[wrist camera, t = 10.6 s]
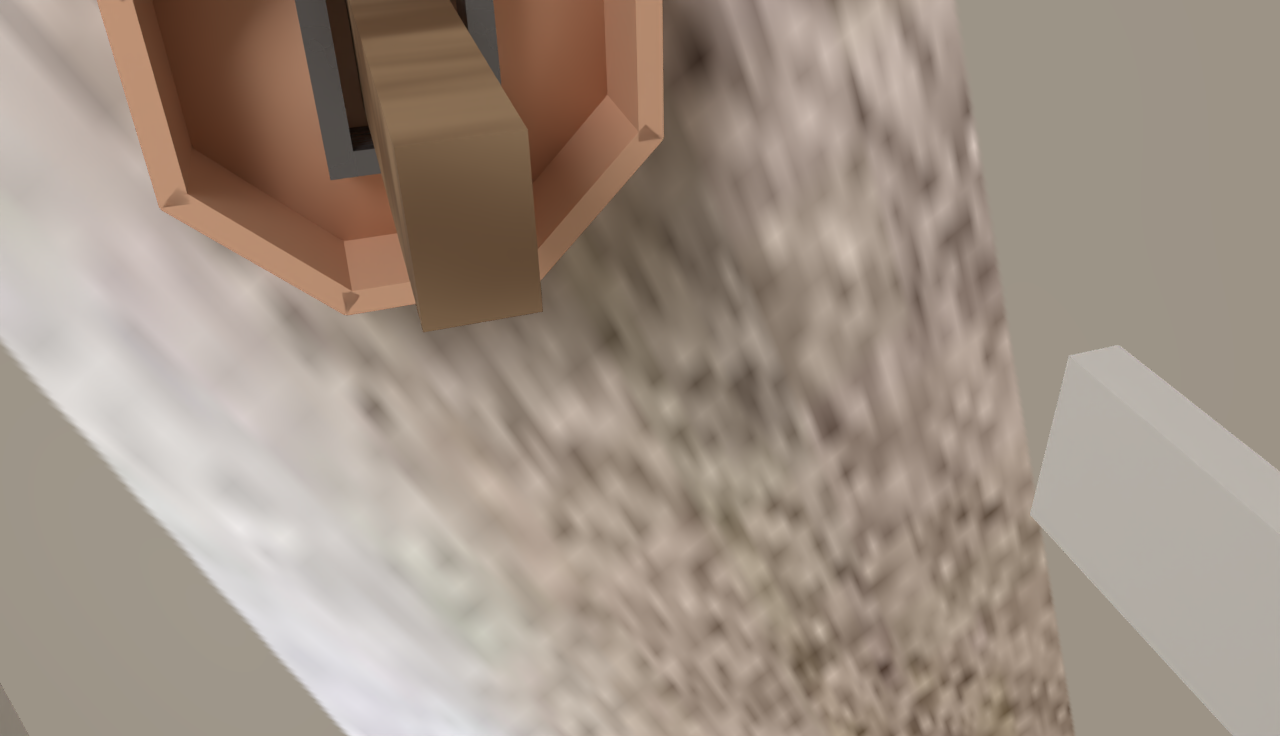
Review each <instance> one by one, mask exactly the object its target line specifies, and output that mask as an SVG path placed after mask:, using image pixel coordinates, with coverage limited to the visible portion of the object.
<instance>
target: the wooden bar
mask: <svg viewBox="0 0 1280 736" xmlns="http://www.w3.org/2000/svg"><path fill="white" fill-rule="evenodd" d="M345 2H346V8H347V14H348V20H349V26H350V31H351V37H352V43H353V49H354V55H355V61H356V66H357V72H358V78H359V84H360V90H361V96H362V101H363V107H364V110H365V114H366V118H367V122H368V125H369V129H370V133H371V137H372V141H373V144H374V148H375V152H376V156H377V159H378V163H379V167H380V171H381V174H382V178H383V182H384V186H385V190H386V193H387V197H388V201H389V205H390V208H391V212H392V216H393V220H394V223H395V227H396V231H397V235H398V239H399V242H400V246H401V250H402V254H403V257H404V261H405V265H406V269H407V272H408V276H409V280H410V284H411V288H412V291H413V295H414V299H415V303H416V306H417V310H418V314H419V318H420V321H421V325H422V329H423V332H428V331H434V330H439V329H445V328H451V327H457V326H463V325H468V324H474V323H480V322H486V321H492V320H497V319H503V318H509V317H515V316H521V315H526V314H532V313H538V312H543V307H542V295H541V283H540V271H539V259H538V247H537V235H536V223H535V211H534V199H533V187H532V175H531V163H530V151H529V139H528V129H527V128H526V126H525V124H524V123H523V121H522V119H521V118H520V116H519V114H518V113H517V111H516V109H515V108H514V106H513V104H512V103H511V101H510V99H509V98H508V96H507V95H506V93H505V91H504V90H503V88H502V86H501V85H500V83H499V81H498V80H497V78H496V76H495V75H494V73H493V71H492V70H491V68H490V66H489V65H488V63H487V61H486V60H485V58H484V56H483V55H482V53H481V52H480V50H479V48H478V47H477V45H476V43H475V42H474V40H473V38H472V37H471V35H470V33H469V32H468V30H467V28H466V27H465V25H464V23H463V22H462V20H461V18H460V17H459V15H458V13H457V12H456V10H455V9H454V7H453V5H452V4H451V2H450V0H345Z"/></svg>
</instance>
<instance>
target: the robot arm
mask: <svg viewBox="0 0 1280 736" xmlns="http://www.w3.org/2000/svg"><path fill="white" fill-rule="evenodd" d="M1030 515H1031V516H1032V517H1033V518H1034V519H1035V520H1036V522H1037V523H1038V524H1039V525H1040V526H1041V527H1042V528H1043V529H1044V530H1045V531H1046V532H1047V534H1048V535H1049V536H1050V537H1051V538H1052V539H1053V540H1054V541H1055V542H1056V543H1057V544H1058V546H1059V547H1060V548H1061V549H1062V550H1063V551H1064V552H1065V553H1066V554H1067V555H1068V556H1069V557H1070V559H1071V560H1072V561H1073V562H1074V563H1075V564H1076V565H1077V566H1078V567H1079V569H1080V570H1081V571H1082V572H1083V573H1084V574H1085V575H1086V576H1087V577H1088V578H1089V579H1090V580H1091V582H1092V583H1093V584H1094V585H1095V586H1096V587H1097V588H1098V589H1099V590H1100V591H1101V593H1102V594H1103V595H1104V596H1105V597H1106V598H1107V599H1108V600H1109V601H1110V602H1111V603H1112V604H1113V606H1114V607H1115V608H1116V609H1117V610H1118V611H1119V612H1120V613H1121V614H1122V615H1123V617H1124V618H1125V619H1126V620H1127V621H1128V622H1129V623H1130V624H1131V625H1132V626H1133V627H1134V629H1135V630H1136V631H1137V632H1138V633H1139V634H1140V635H1141V636H1142V637H1143V638H1144V640H1146V642H1147V643H1148V644H1149V645H1150V646H1151V647H1152V648H1153V649H1154V650H1155V652H1156V653H1157V654H1158V655H1159V656H1160V657H1161V658H1162V659H1163V660H1164V661H1165V662H1166V663H1167V664H1168V666H1169V667H1170V668H1171V669H1172V670H1173V671H1174V672H1175V673H1176V674H1177V676H1178V677H1179V678H1180V679H1181V680H1182V681H1183V682H1184V683H1185V684H1186V685H1187V686H1188V688H1190V690H1191V691H1192V692H1193V693H1194V694H1195V695H1196V696H1197V697H1198V698H1199V700H1200V701H1201V702H1202V703H1203V704H1204V705H1205V706H1206V707H1207V708H1208V709H1209V710H1210V712H1212V714H1213V715H1214V716H1215V717H1216V718H1217V719H1218V720H1219V721H1220V723H1221V724H1222V725H1223V726H1224V727H1225V728H1226V729H1227V730H1228V731H1229V732H1230V733H1231V735H1232V736H1280V471H1279V470H1277V469H1276V468H1275V467H1273V466H1272V465H1271V464H1270V463H1268V462H1267V461H1266V460H1265V459H1263V458H1262V457H1261V456H1260V455H1258V454H1257V453H1256V452H1254V451H1253V450H1252V449H1251V448H1249V447H1248V446H1247V445H1246V444H1244V443H1243V442H1242V441H1241V440H1239V439H1238V438H1237V437H1235V436H1234V435H1233V434H1232V433H1230V432H1229V431H1228V430H1226V429H1225V428H1224V427H1223V426H1221V425H1220V424H1219V423H1218V422H1216V421H1215V420H1214V419H1213V418H1211V417H1210V416H1209V415H1207V414H1206V413H1205V412H1204V411H1202V410H1201V409H1200V408H1198V407H1197V406H1196V405H1195V404H1194V403H1192V402H1191V401H1190V400H1188V399H1187V398H1186V397H1185V396H1183V395H1182V394H1181V393H1179V392H1178V391H1177V390H1176V389H1174V388H1173V387H1172V386H1171V385H1169V384H1168V383H1167V382H1166V381H1164V380H1163V379H1162V378H1160V377H1159V376H1158V375H1157V374H1155V373H1154V372H1153V371H1152V370H1150V369H1149V368H1148V367H1147V366H1145V365H1144V364H1143V363H1141V362H1140V361H1139V360H1138V359H1136V358H1135V357H1134V356H1133V355H1131V354H1130V353H1129V352H1127V351H1126V350H1125V349H1124V348H1122V347H1121V346H1120V345H1116V346H1112V347H1107V348H1102V349H1097V350H1093V351H1088V352H1084V353H1079V354H1074V355H1070V356H1069V357H1068V362H1067V365H1066V369H1065V373H1064V378H1063V382H1062V386H1061V390H1060V394H1059V398H1058V402H1057V406H1056V410H1055V414H1054V418H1053V423H1052V427H1051V431H1050V435H1049V439H1048V443H1047V447H1046V452H1045V455H1044V459H1043V464H1042V468H1041V472H1040V476H1039V480H1038V484H1037V488H1036V492H1035V496H1034V500H1033V504H1032V509H1031V513H1030ZM0 736H29V734H28V732H27V731H26V729H25V727H24V725H23V723H22V722H21V720H20V718H19V716H18V714H17V712H16V711H15V709H14V707H13V705H12V703H11V702H10V700H9V698H8V696H7V694H6V693H5V691H4V689H3V687H2V685H1V683H0Z"/></svg>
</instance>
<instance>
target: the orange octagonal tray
mask: <svg viewBox="0 0 1280 736" xmlns="http://www.w3.org/2000/svg"><path fill="white" fill-rule="evenodd" d="M325 1H326V6H327V12H328V17H329V23H330V28H331V33H332V39H333V44H334V50H335V55H336V61H337V66H338V72H339V77H340V83H341V88H342V93H343V99H344V104H345V110H346V115H347V121H348V126H349V128H352V127H360V126H368V122H367V118H366V114H365V110H364V107H363V101H362V96H361V90H360V84H359V78H358V72H357V66H356V61H355V55H354V49H353V43H352V37H351V31H350V26H349V20H348V14H347V8H346V2H345V0H325ZM97 2H98V6H99V9H100V12H101V16H102V19H103V22H104V26H105V29H106V32H107V36H108V39H109V42H110V46H111V49H112V52H113V55H114V59H115V62H116V65H117V69H118V72H119V75H120V79H121V82H122V85H123V89H124V92H125V95H126V99H127V102H128V105H129V109H130V112H131V115H132V119H133V122H134V125H135V129H136V132H137V135H138V139H139V142H140V145H141V149H142V152H143V155H144V159H145V162H146V165H147V169H148V172H149V175H150V178H151V182H152V185H153V188H154V192H155V195H156V198H157V202H158V205H159V208H161V209H160V210H162V211H164V212H166V213H167V214H169V215H171V216H173V217H174V218H176V219H178V220H180V221H181V222H183V223H185V224H187V225H188V226H190V227H192V228H194V229H195V230H197V231H199V232H201V233H202V234H204V235H206V236H208V237H209V238H211V239H213V240H215V241H216V242H218V243H220V244H221V245H223V246H225V247H227V248H228V249H230V250H232V251H234V252H235V253H237V254H239V255H241V256H242V257H244V258H246V259H248V260H249V261H251V262H253V263H255V264H256V265H258V266H260V267H262V268H263V269H265V270H267V271H269V272H270V273H272V274H274V275H276V276H277V277H279V278H281V279H283V280H284V281H286V282H288V283H290V284H291V285H293V286H295V287H297V288H298V289H300V290H302V291H303V292H305V293H307V294H309V295H310V296H312V297H314V298H316V299H317V300H319V301H321V302H323V303H324V304H326V305H328V306H330V307H331V308H333V309H335V310H337V311H338V312H340V313H342V314H344V315H346V316H347V315H353V314H359V313H364V312H370V311H376V310H382V309H388V308H394V307H400V306H406V305H412V304H416V303H415V299H414V295H413V291H412V288H411V284H410V280H409V276H408V272H407V269H406V265H405V261H404V257H403V254H402V250H401V246H400V242H399V239H398V235H397V231H396V227H395V223H394V220H393V216H392V212H391V208H390V205H389V201H388V197H387V193H386V190H385V186H384V182H383V178H382V174H381V173H380V174H373V175H366V176H358V177H351V178H344V179H337V180H330V175H329V170H328V165H327V160H326V155H325V150H324V145H323V140H322V135H321V130H320V125H319V120H318V115H317V110H316V105H315V100H314V95H313V90H312V85H311V80H310V75H309V70H308V65H307V60H306V55H305V50H304V45H303V40H302V35H301V30H300V25H299V20H298V15H297V9H296V4H295V0H97ZM450 2H451V4H452V5H453V7H454V9H455V10H456V12H457V4H456V0H450ZM493 4H494V14H495V24H496V35H497V45H498V55H499V65H500V76H501V86H502V88H503V90H504V91H505V93H506V95H507V96H508V98H509V99H510V101H511V103H512V104H513V106H514V108H515V109H516V111H517V113H518V114H519V116H520V118H521V119H522V121H523V123H524V124H525V126H526V128H527V129H528V139H529V151H530V163H531V175H532V187H533V199H534V211H535V223H536V235H537V247H538V259H539V271H540V281H541V280H542V279H543V277H544V276H545V275H546V274H547V273H548V272H549V270H550V269H551V268H552V267H553V266H554V265H555V264H556V262H557V261H558V260H559V259H560V258H561V257H562V256H563V254H564V253H565V252H566V251H567V250H568V249H569V247H570V246H571V245H572V244H573V243H574V242H575V241H576V239H577V238H578V237H579V236H580V235H581V234H582V233H583V231H584V230H585V229H586V228H587V227H588V226H589V224H590V223H591V222H592V221H593V220H594V219H595V218H596V216H597V215H598V214H599V213H600V212H601V211H602V210H603V208H604V207H605V206H606V205H607V204H608V203H609V201H610V200H611V199H612V198H613V197H614V196H615V195H616V193H617V192H618V191H619V190H620V189H621V188H622V187H623V185H624V184H625V183H626V182H627V181H628V180H629V178H630V177H631V176H632V175H633V174H634V173H635V172H636V170H637V169H638V168H639V167H640V166H641V165H642V163H643V162H644V161H645V160H646V159H647V158H648V157H649V155H650V154H651V153H652V152H653V151H654V150H655V149H656V147H657V146H658V145H659V144H660V143H661V142H662V140H663V139H662V138H664V108H663V8H662V0H493Z"/></svg>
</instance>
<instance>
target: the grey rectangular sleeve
mask: <svg viewBox="0 0 1280 736" xmlns="http://www.w3.org/2000/svg"><path fill="white" fill-rule="evenodd" d="M295 4H296V9H297V15H298V20H299V25H300V30H301V35H302V40H303V45H304V50H305V55H306V60H307V65H308V70H309V75H310V80H311V85H312V90H313V95H314V100H315V105H316V110H317V115H318V120H319V125H320V130H321V135H322V140H323V145H324V150H325V155H326V160H327V165H328V170H329V175H330V180H337V179H344V178H351V177H358V176H366V175H373V174H380V173H381V171H380V167H379V163H378V159H377V156H376V152H375V148H374V144H373V141H372V137H371V133H370V129H369V125H368V126H360V127H352V128H349V126H348V121H347V115H346V110H345V104H344V99H343V93H342V88H341V83H340V77H339V72H338V66H337V61H336V55H335V50H334V44H333V39H332V33H331V28H330V23H329V17H328V12H327V6H326V1H325V0H295ZM456 4H457V13H458V15H459V17H460V18H461V20H462V22H463V23H464V25H465V27H466V28H467V30H468V32H469V33H470V35H471V37H472V38H473V40H474V42H475V43H476V45H477V47H478V48H479V50H480V52H481V53H482V55H483V56H484V58H485V60H486V61H487V63H488V65H489V66H490V68H491V70H492V71H493V73H494V75H495V76H496V78H497V80H498V81H499V83H500V85H501V76H500V65H499V55H498V45H497V35H496V24H495V14H494V4H493V0H456Z"/></svg>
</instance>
